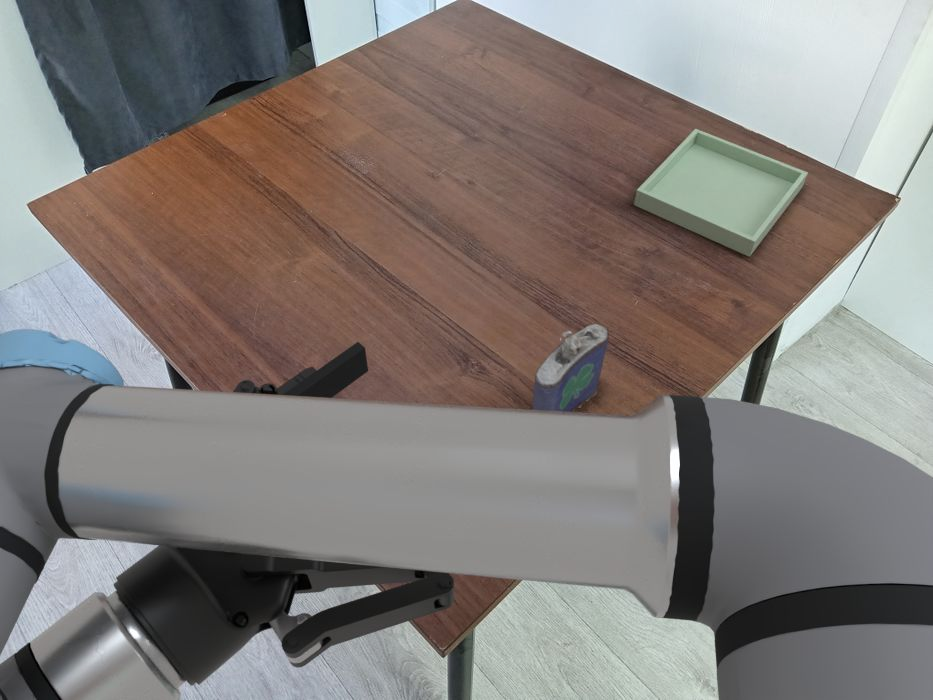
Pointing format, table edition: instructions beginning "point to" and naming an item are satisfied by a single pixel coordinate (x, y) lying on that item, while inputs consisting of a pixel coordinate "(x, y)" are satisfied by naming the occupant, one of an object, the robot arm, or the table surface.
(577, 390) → the flask
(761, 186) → the tray
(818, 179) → the table surface
